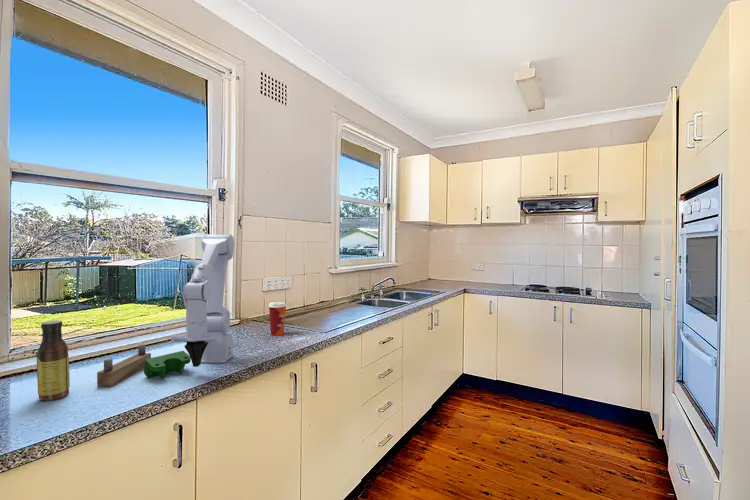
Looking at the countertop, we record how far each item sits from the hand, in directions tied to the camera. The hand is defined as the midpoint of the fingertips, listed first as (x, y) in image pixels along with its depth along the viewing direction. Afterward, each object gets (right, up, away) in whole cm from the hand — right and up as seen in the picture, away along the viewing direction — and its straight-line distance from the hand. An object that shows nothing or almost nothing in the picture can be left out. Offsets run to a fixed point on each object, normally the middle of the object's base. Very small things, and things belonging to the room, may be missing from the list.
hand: (196, 365), depth 111 cm
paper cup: (+11, -2, +50) cm, 51 cm away
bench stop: (-21, -3, 0) cm, 22 cm away
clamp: (-9, -3, 0) cm, 9 cm away
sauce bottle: (-29, -3, -16) cm, 34 cm away
